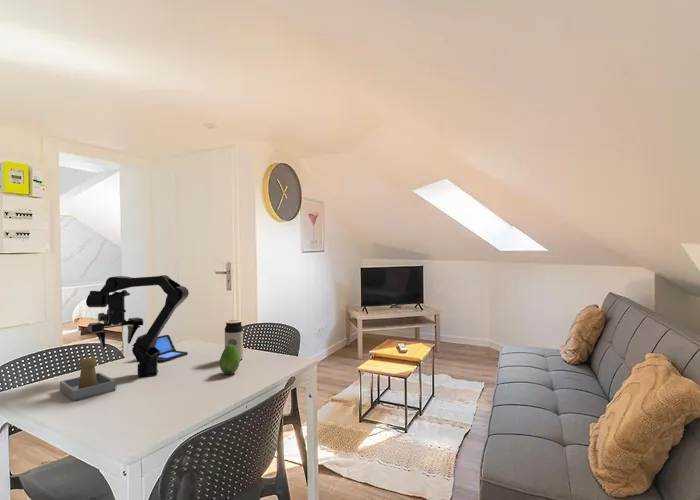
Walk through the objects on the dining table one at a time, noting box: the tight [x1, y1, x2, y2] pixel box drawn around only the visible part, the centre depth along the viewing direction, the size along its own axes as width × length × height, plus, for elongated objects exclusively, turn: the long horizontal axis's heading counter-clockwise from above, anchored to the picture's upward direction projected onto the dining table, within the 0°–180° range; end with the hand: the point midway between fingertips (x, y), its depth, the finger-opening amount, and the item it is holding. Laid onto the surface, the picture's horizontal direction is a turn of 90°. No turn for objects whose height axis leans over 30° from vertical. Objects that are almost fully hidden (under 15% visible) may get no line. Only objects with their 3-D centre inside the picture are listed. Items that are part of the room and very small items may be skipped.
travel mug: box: [224, 318, 244, 361], centre depth 174 cm, size 8×8×18 cm
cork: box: [78, 357, 98, 389], centre depth 136 cm, size 6×6×11 cm
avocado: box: [219, 344, 241, 375], centre depth 154 cm, size 8×8×12 cm
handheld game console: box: [155, 334, 189, 363], centre depth 179 cm, size 16×13×9 cm
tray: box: [59, 371, 116, 402], centre depth 136 cm, size 16×13×4 cm
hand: (116, 345), depth 153 cm, fingers open, 9 cm apart
